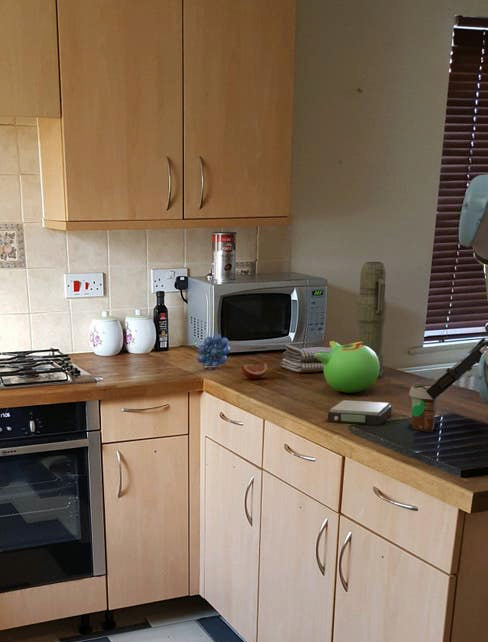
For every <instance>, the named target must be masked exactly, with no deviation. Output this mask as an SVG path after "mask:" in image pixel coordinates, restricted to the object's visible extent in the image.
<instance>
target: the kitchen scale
mask: <svg viewBox="0 0 488 642" xmlns="http://www.w3.org/2000/svg"><path fill="white" fill-rule="evenodd" d="M392 408H393V406H392V405H390V402H381V401H365V400H364V401H363V400H347V399H346V400H345V399H344V400H341V401H340V402H339V403H338V404H336V405H334V406H333V407H331V408H330V410H329V411H327V422H328V423H338V424H351V425H352V424H353V425H367V426H380V425H382V424H383V423H385V421H386V420H387V419H389V417H391V416H392Z"/></svg>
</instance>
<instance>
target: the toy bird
mask: <svg viewBox="0 0 488 642" xmlns="http://www.w3.org/2000/svg"><path fill="white" fill-rule="evenodd" d="M362 343H363V342H357V341H356V342H352V343H345V344H342V345H341V344H339V343H338V342H336V341H334V340H331V341H329V348H331V350H332V351H331V352H330V353H315V355H314V356H315V357H316V358H317V359H318V360H320V361H321V362H323V363H324V371H323V376H324V379H325V381H326V383H327V384H328V385H329V386H330V387H331V388H332V389H333V390H336V391H337V392H341V393H345V394H353V393H354V394H355V393H359V392H363V391H366V390H367V389H369V388H371V387H372V386H373V385H374V384H375V382H376V381H377V380H378V375H379V371H380V364H379V360H378V357H377V355H376V354H375V352H374V351H373V350H372V349H370V348H369V347H367V346H364V345H361V344H362Z"/></svg>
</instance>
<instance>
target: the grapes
mask: <svg viewBox="0 0 488 642" xmlns="http://www.w3.org/2000/svg"><path fill="white" fill-rule="evenodd" d="M228 344H229V339H228V338H227V337H222V336H221V334H220V333H216V334H214V335H213V336H212V337H211V336H206V337H205V338H204V341H203V344H201V345H199V346H198V348H197V352H198V354H199V355H198V356H197V359H196V360H197V363H199V364H201V365H202V368H203V369H204V370H208V369H210V368H211V370H217V369H218V368H219V366H220V365H223V364H225V363H226V362H227V360H228V358H227V355H228V354H230V352H231V347H230V346H229V345H228ZM203 366H210V367H207V368H205V367H203ZM211 366H218V367H211Z"/></svg>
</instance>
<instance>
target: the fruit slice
mask: <svg viewBox="0 0 488 642" xmlns="http://www.w3.org/2000/svg"><path fill="white" fill-rule="evenodd" d="M268 369H269V367H268V363H267V362H264V363H258V364H256V363H244V364H242V365H241V372H242V374H243V376H245V377H246V378H248V379H250V380H258V379H260V378H262V377H263V376H264V375H265V374H266V373H267V371H268Z"/></svg>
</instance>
